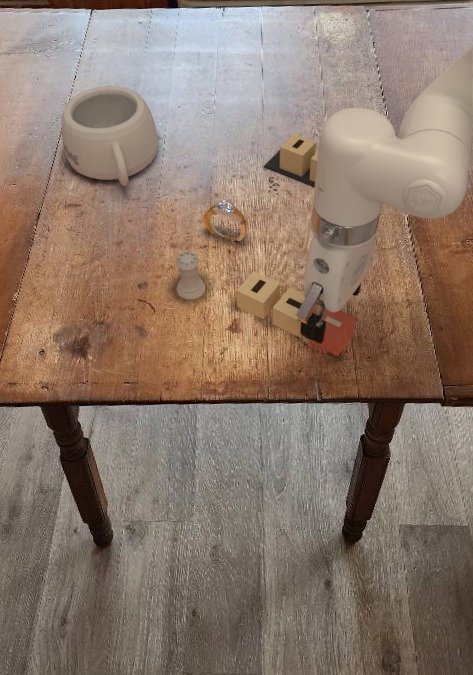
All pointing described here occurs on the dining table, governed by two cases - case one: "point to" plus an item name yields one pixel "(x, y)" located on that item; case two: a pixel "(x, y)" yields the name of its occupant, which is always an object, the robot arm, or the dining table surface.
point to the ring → (227, 210)
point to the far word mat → (296, 160)
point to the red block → (336, 332)
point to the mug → (109, 133)
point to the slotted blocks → (271, 302)
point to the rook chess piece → (189, 276)
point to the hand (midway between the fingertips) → (330, 313)
